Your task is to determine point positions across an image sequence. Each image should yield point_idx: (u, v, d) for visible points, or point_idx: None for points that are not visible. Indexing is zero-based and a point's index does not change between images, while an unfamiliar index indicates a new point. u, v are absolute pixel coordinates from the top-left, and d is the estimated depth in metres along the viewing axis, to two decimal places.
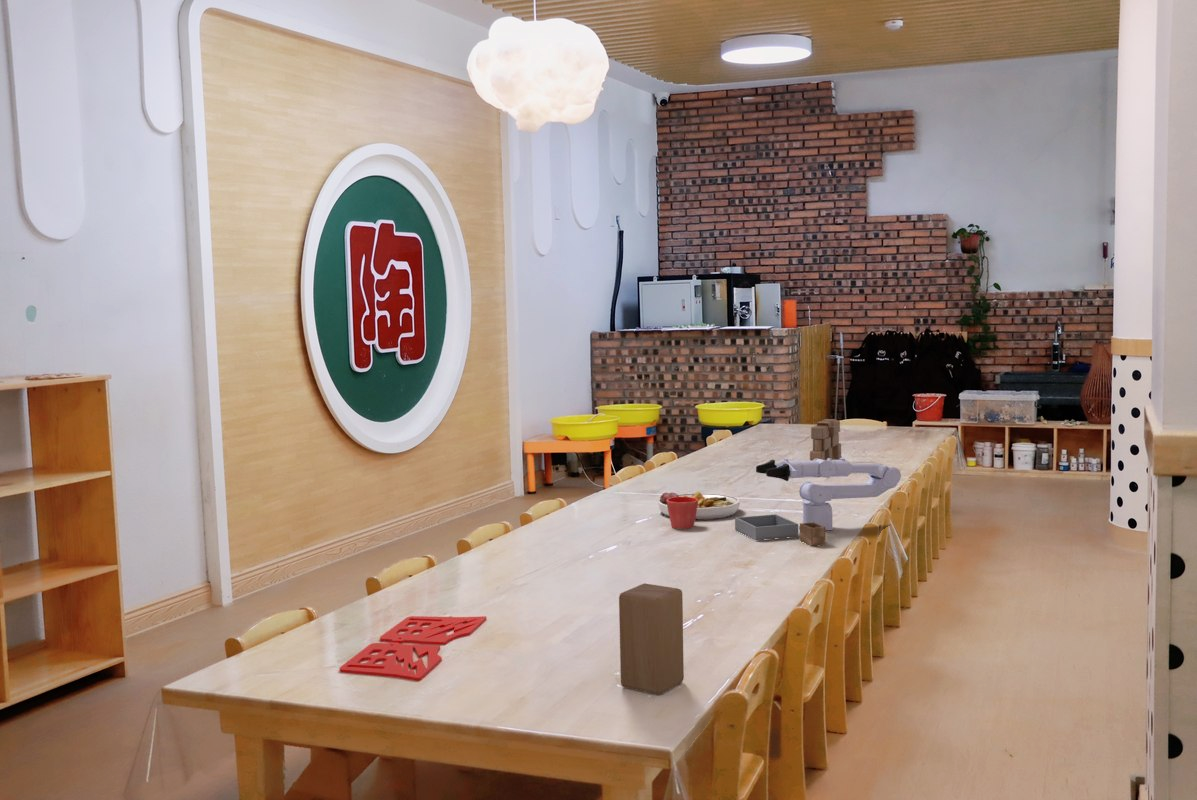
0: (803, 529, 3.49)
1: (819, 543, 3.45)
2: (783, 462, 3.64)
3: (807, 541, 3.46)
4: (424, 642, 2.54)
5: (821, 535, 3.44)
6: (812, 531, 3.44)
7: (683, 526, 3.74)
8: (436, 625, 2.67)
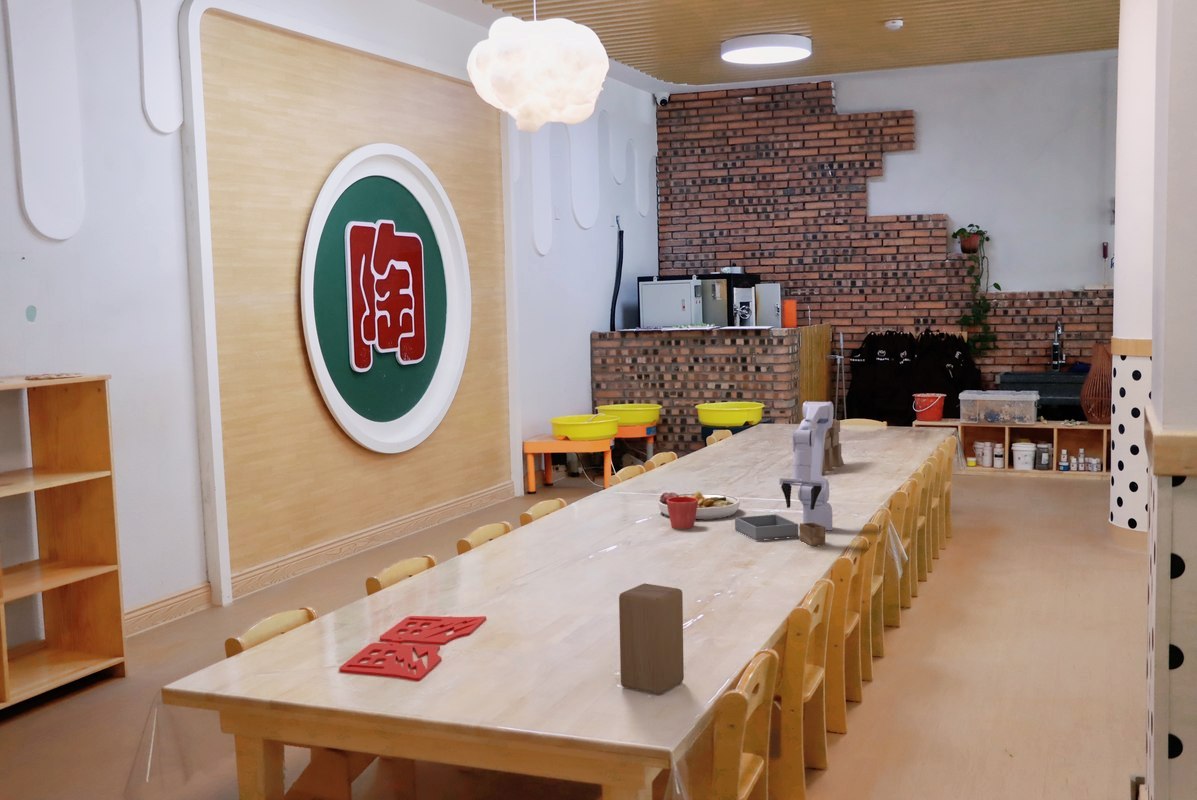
0: (803, 529, 3.49)
1: (819, 543, 3.45)
2: (800, 481, 3.47)
3: (807, 541, 3.46)
4: (424, 642, 2.54)
5: (821, 535, 3.44)
6: (812, 531, 3.44)
7: (683, 526, 3.74)
8: (436, 625, 2.67)
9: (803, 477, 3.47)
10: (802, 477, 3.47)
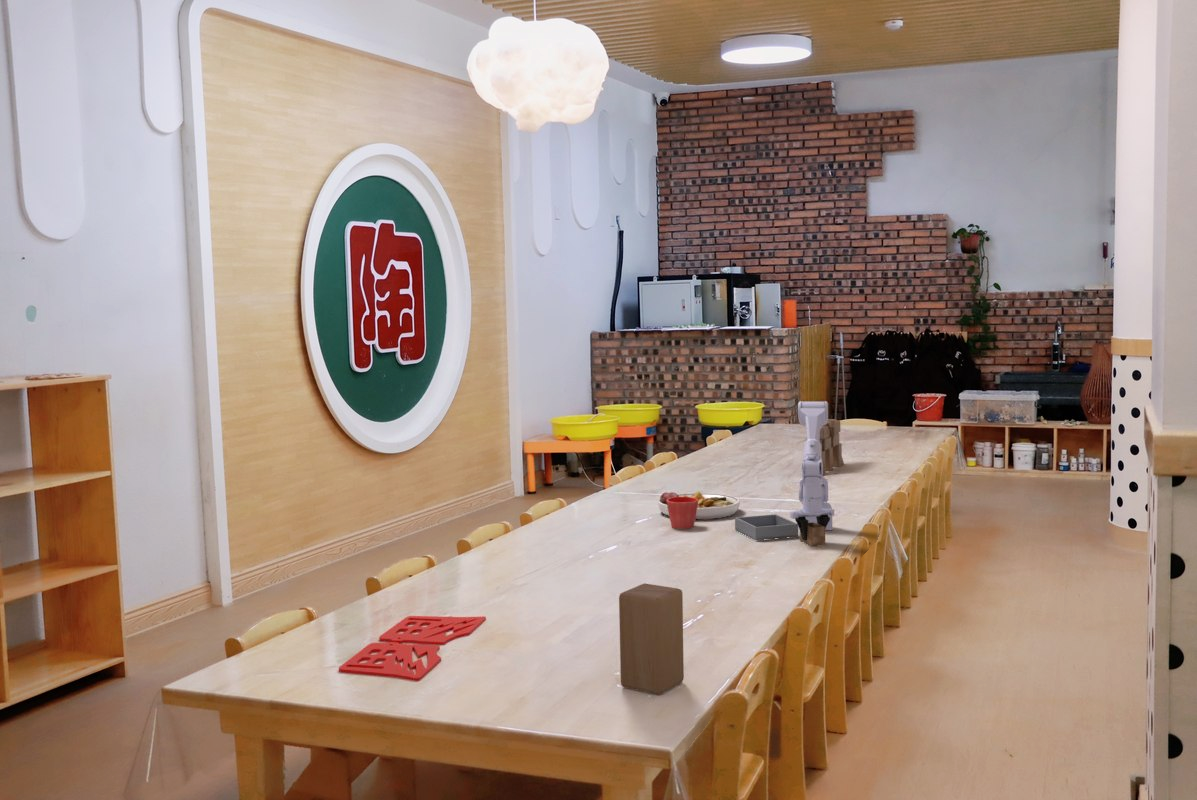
0: None
1: (819, 543, 3.45)
2: (813, 514, 3.45)
3: (807, 540, 3.46)
4: (423, 642, 2.54)
5: (821, 534, 3.44)
6: (812, 531, 3.44)
7: (683, 526, 3.74)
8: (435, 625, 2.67)
9: (816, 510, 3.45)
10: (815, 510, 3.45)
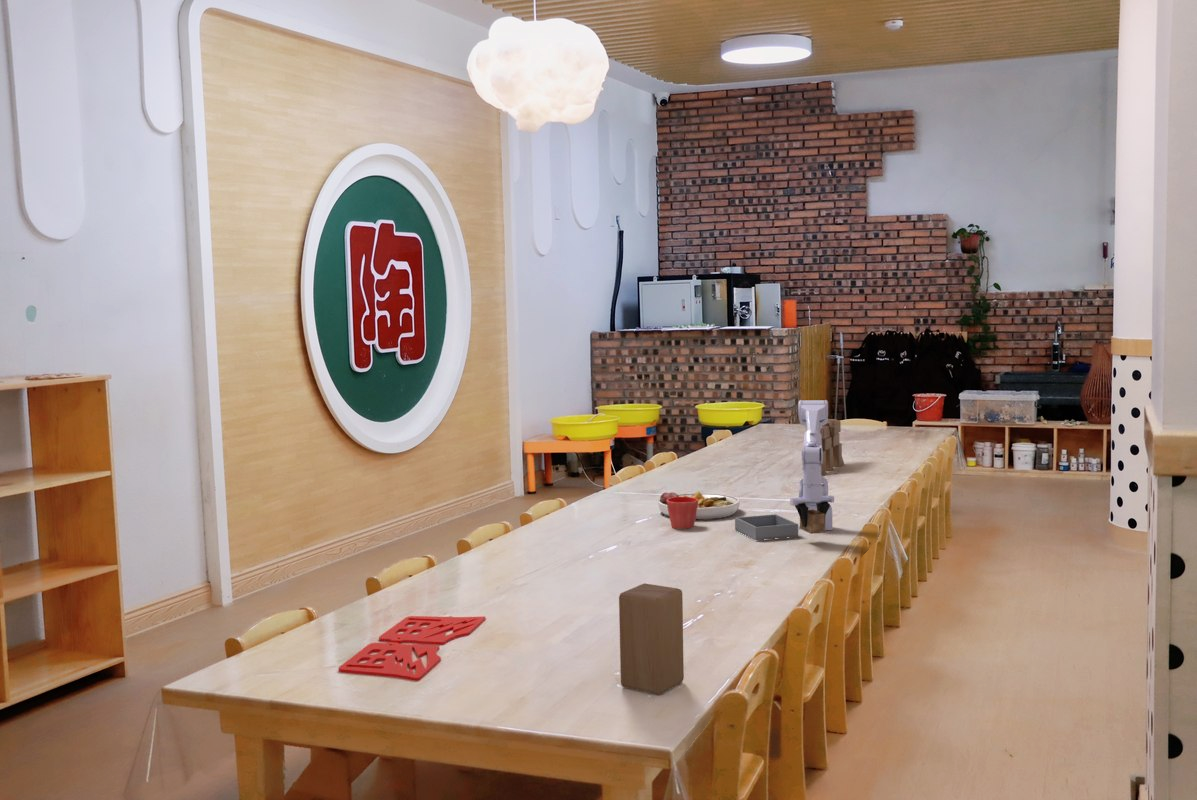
0: None
1: (819, 530, 3.44)
2: (813, 501, 3.45)
3: (807, 528, 3.46)
4: (423, 642, 2.54)
5: (821, 522, 3.44)
6: (812, 518, 3.43)
7: (683, 526, 3.74)
8: (435, 625, 2.67)
9: (816, 497, 3.44)
10: (815, 497, 3.44)
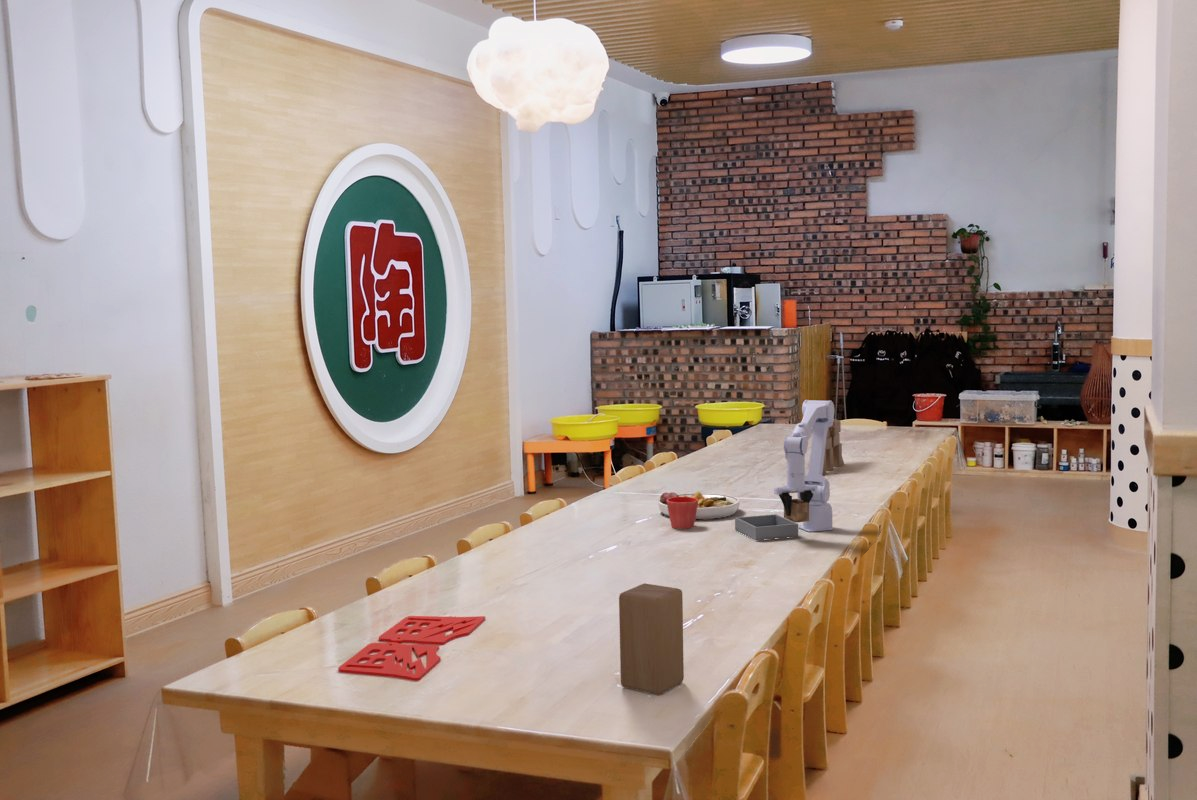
0: None
1: (803, 519, 3.49)
2: (797, 490, 3.50)
3: (791, 517, 3.51)
4: (423, 642, 2.54)
5: (804, 510, 3.49)
6: (796, 507, 3.48)
7: (683, 526, 3.74)
8: (435, 625, 2.67)
9: (799, 486, 3.49)
10: (798, 486, 3.49)
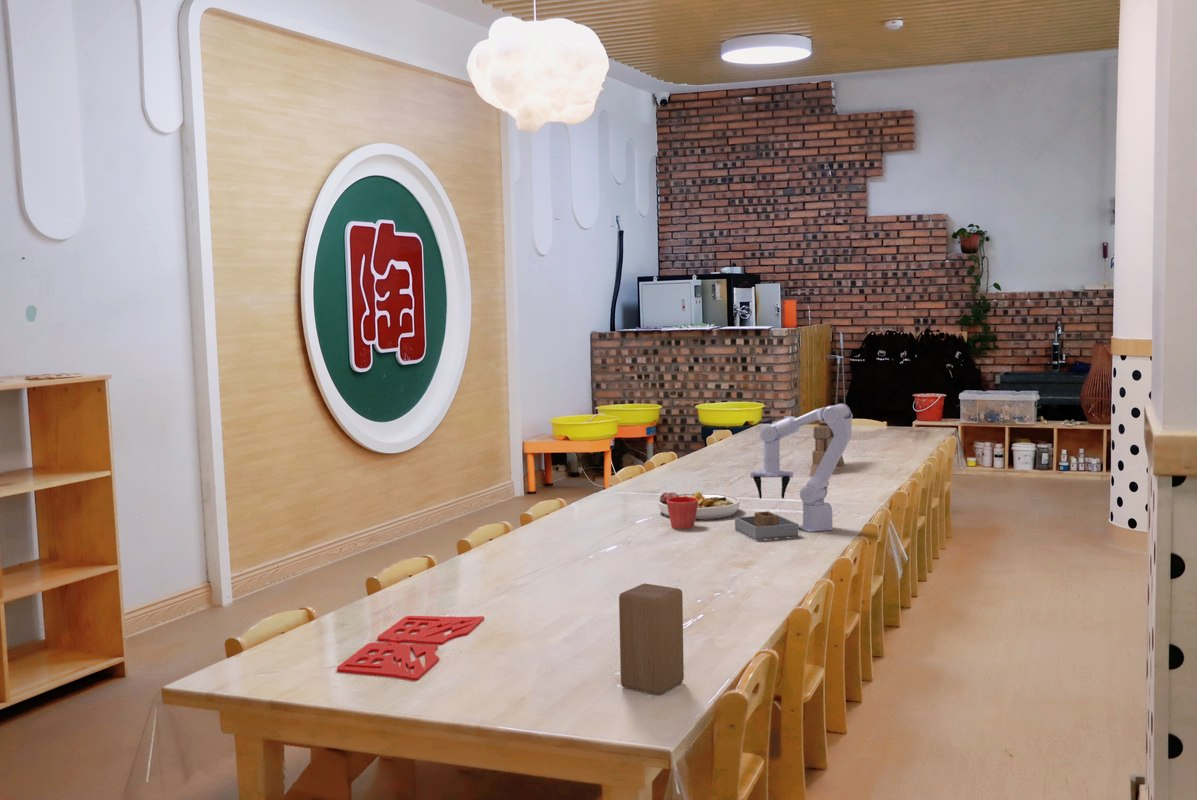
0: (757, 518, 3.63)
1: None
2: None
3: None
4: (422, 642, 2.55)
5: (774, 523, 3.59)
6: (765, 519, 3.58)
7: (683, 526, 3.74)
8: (434, 625, 2.67)
9: (771, 471, 3.74)
10: (770, 471, 3.74)
